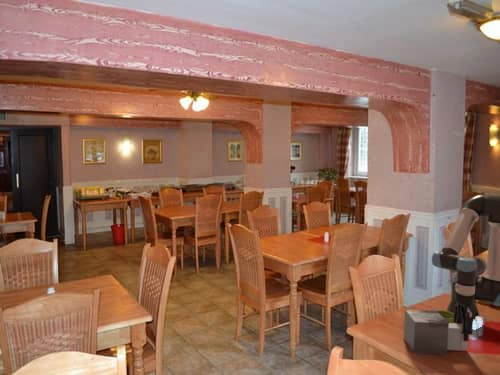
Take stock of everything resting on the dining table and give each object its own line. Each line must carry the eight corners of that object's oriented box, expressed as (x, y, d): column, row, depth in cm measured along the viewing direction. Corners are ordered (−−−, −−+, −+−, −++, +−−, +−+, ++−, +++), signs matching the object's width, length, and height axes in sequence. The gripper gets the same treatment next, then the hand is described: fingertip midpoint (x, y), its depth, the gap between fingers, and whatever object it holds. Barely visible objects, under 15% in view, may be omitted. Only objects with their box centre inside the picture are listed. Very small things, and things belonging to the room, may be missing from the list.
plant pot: (452, 328, 198) (454, 311, 197) (455, 337, 189) (457, 319, 188) (432, 325, 201) (433, 309, 200) (434, 334, 192) (435, 316, 191)
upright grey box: (461, 345, 181) (463, 323, 180) (466, 350, 176) (468, 328, 175) (438, 344, 182) (440, 322, 181) (443, 349, 177) (444, 327, 176)
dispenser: (434, 340, 186) (436, 310, 184) (446, 354, 173) (448, 323, 171) (403, 338, 186) (405, 309, 185) (413, 353, 174) (415, 322, 172)
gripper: (447, 285, 185) (443, 334, 188) (465, 300, 168) (461, 354, 170) (464, 286, 185) (460, 334, 187) (484, 301, 167) (480, 354, 169)
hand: (461, 343), depth 179 cm, fingers closed on upright grey box, 5 cm apart
